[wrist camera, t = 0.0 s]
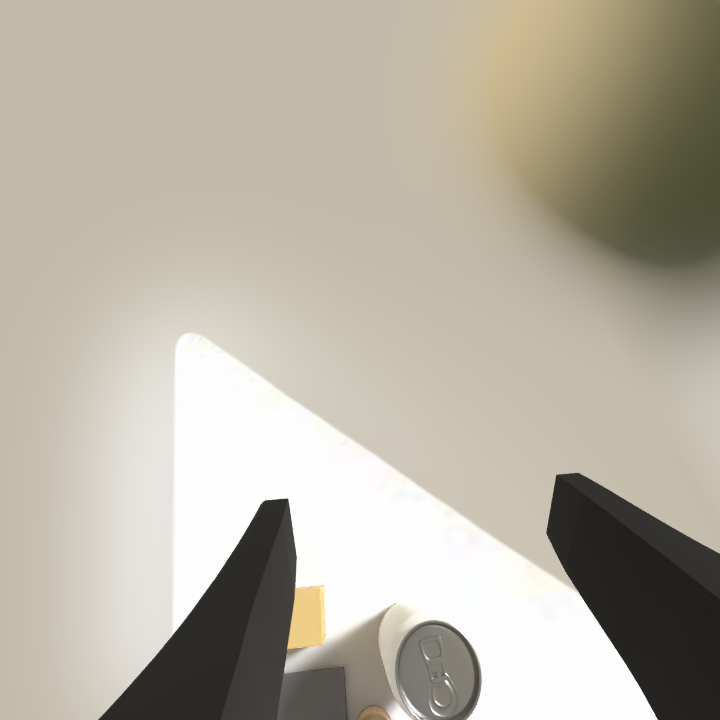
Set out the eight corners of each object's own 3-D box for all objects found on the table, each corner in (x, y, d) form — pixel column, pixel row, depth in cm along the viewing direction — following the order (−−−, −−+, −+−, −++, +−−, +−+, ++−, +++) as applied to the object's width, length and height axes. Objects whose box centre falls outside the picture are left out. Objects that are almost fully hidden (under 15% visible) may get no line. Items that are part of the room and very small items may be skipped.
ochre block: (325, 634, 35) (322, 645, 31) (282, 639, 35) (272, 650, 31) (324, 585, 37) (320, 588, 33) (283, 589, 37) (273, 593, 33)
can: (386, 692, 34) (402, 752, 23) (371, 606, 36) (378, 624, 26) (456, 673, 34) (503, 724, 24) (436, 591, 37) (469, 602, 27)
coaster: (348, 758, 31) (348, 760, 31) (275, 767, 31) (274, 770, 31) (343, 667, 34) (343, 668, 34) (276, 674, 34) (275, 675, 34)
